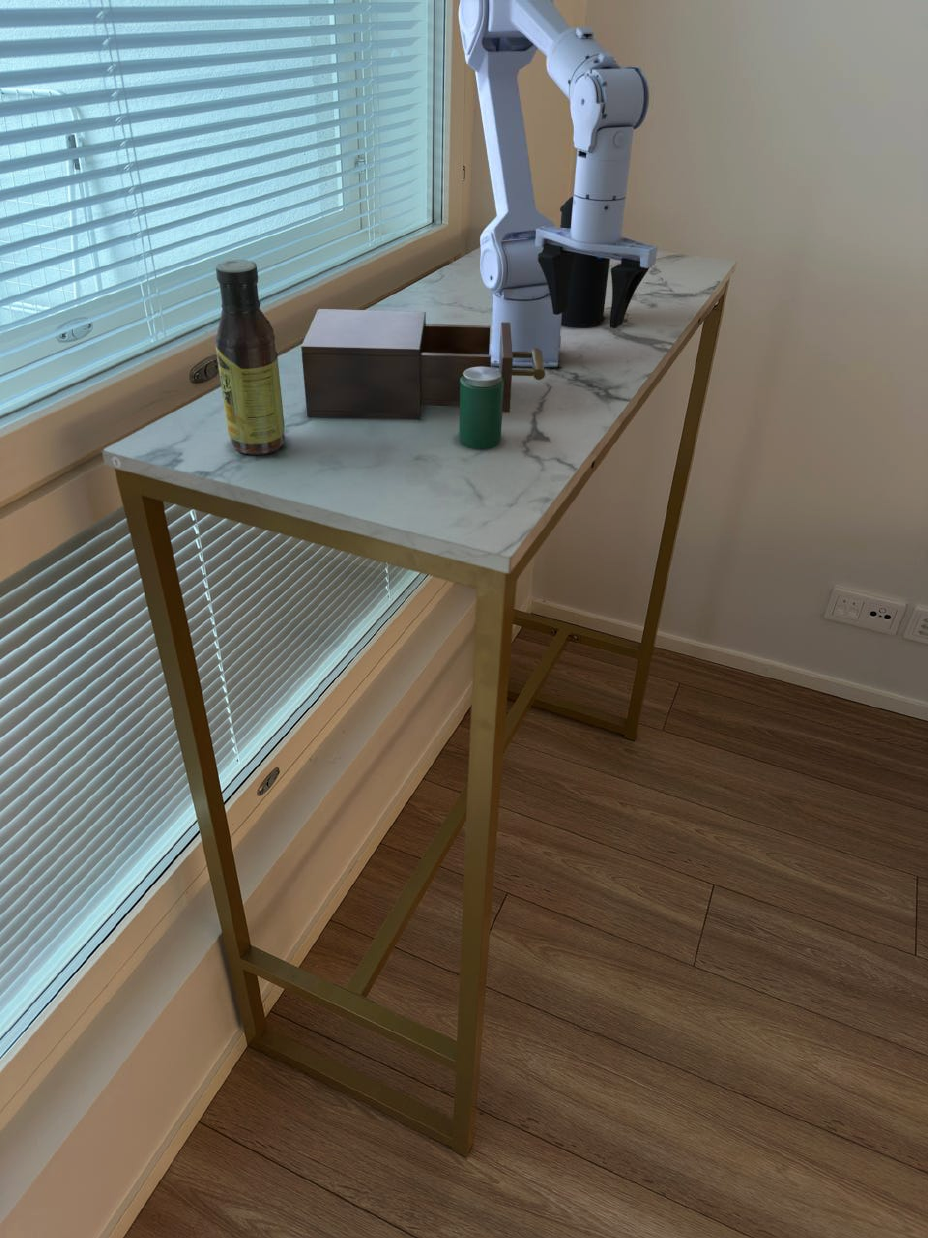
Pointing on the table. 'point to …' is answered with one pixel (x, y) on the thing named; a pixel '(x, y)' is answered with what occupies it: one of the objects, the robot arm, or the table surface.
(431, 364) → the drawer
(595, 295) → the aerosol can
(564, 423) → the table surface
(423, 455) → the table surface
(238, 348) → the sauce bottle
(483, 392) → the can
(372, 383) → the cabinet
